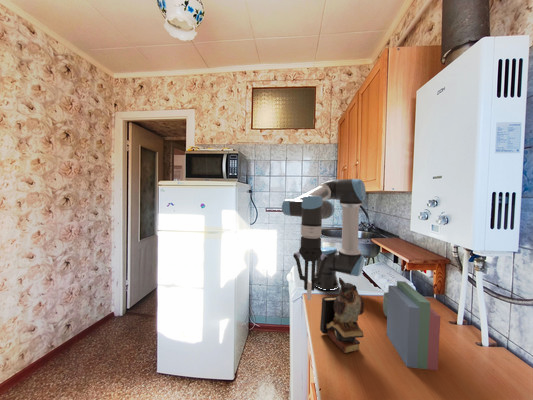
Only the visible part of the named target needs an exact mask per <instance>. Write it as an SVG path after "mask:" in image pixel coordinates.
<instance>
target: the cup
mask: <svg viewBox="0 0 533 400" xmlns="http://www.w3.org/2000/svg"><path fill="white" fill-rule="evenodd" d="M382 297H383V298H382V309H383V314H384V316H385V317H386V318H387V311H388V291H386V292H384V293H383V295H382Z"/></svg>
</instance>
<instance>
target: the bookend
mask: <svg viewBox="0 0 533 400" xmlns="http://www.w3.org/2000/svg"><path fill="white" fill-rule="evenodd" d="M338 284H339V285H340V292H339V295H337V296H336V295H335V296H333V295H332V296H324V297H322V299H321V311H320V322H319V323H320V326H319V331H320V332H321V333H322V334H323V335H328V337H329V338H330V339H331V341H333V343H334V344H335V345H336V346H337V347H338V349H340V350H341V351H342V352H343V353H344V354H347V353H350V352H356V351H359V350H360V345H361V342H360V341H359V340H358V339H359V338H364V331H363V330H362V329H361V328H360V327H359V324H358V321H359V316H361V315H363V313H364V311H365V310H364V308H365V304H364V301H363V298H362V296H360V295H359V292H358V290H357V289H358V288H357V286H356V285H355V284H352V283H350V282H345V280H343V279H342V278H341V277H338Z"/></svg>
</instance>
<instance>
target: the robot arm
mask: <svg viewBox="0 0 533 400" xmlns="http://www.w3.org/2000/svg"><path fill="white" fill-rule="evenodd" d="M366 191H367V190H366V185H365V182H364V181H363V180H362V179H360V178H348V179H347V178H343V179H331V180H327V181H325V182H322V183H319V184H318V185H317V186H316V187H315V188H314V189H312V190H310V191H307V192H306V193H303V194H302V195H300V196H298V197H296V198H293V199H292V198H289V199H287V198H286V199H284V200H283V201H282V204H281V211H282V213H283V215H285V216H290V217H297V218H298V217H299V218H300V217H301V224H300V235H301V237H300V247H299V249H298V251H297V252H294V253H293V254H292V255H293V258H294V260H295V262H296V267H297V271H298V277H299V280H300V281H303V289H304V291H306V301H312V291H313V292H314V291H315V288H316V287H315V286H317V287H320V288H322V289H326V290H330V289H334V288H337V287H338V288H339V285H340V283H339V279H338V276H337V273H341V274H343V275H344V274H346V275H349V276H354V277H360V275H361V274H362V271H363V269H364V265H365V256H364V255H362V252H361V250H360V249H359V223H360V222H359V219H360V215H359V214H360V213H359V212H360V207H361V205H363V201H365V200H366V197H367V196H366V195H367V192H366ZM329 200H336V201H338V200H339V204H340V206H341V207H342V208H341V209H342V211H341V212H342V213H341V214H342V216H341V217H342V218H341V222H342V223H341V247H340V248H339V249H337V248H336V247H333V246H325V247H324V246H323V247H322V238H321V237H322V222H323V220H325V219H328V218H331V217H332V216H333V215H334V213H335V205H334V204H333V203H332V202H331V201H329ZM301 257H302V259H303V261H304V274H303V270H302V266H301V261H300V258H301ZM310 262H311V273H310V274H311V277H310V278H311V279H309V263H310Z"/></svg>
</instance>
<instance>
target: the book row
mask: <svg viewBox="0 0 533 400" xmlns="http://www.w3.org/2000/svg"><path fill="white" fill-rule="evenodd" d="M387 292H388V311H387V317H386V336H387V337H388V339H389V340H390V341H389V342H390V343H391V344H392V346H393V348H394V349H395V350H396V352H397V354H398V355H399V357H400V359H401V360H402V362H403V363H404V366H405V367H406V368H412V369H413V368H414V369H423V370H429V371H430V370H432V371H438V370H439V353H440V352H439V350H440V335H441V333H440V331H441V315H440V314H438V312H436V311H435V310H434V309H433V308H432V307H431V301H429V300H428V299H427V298H426V297H425V296H424V295H422V294H421V293H419V292H418V291H417V290H416V289H415V288H413V287H412V286H411V285H410V284H409V283H407V282H406V281H402V280H397V281H396V285H388V290H387Z"/></svg>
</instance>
